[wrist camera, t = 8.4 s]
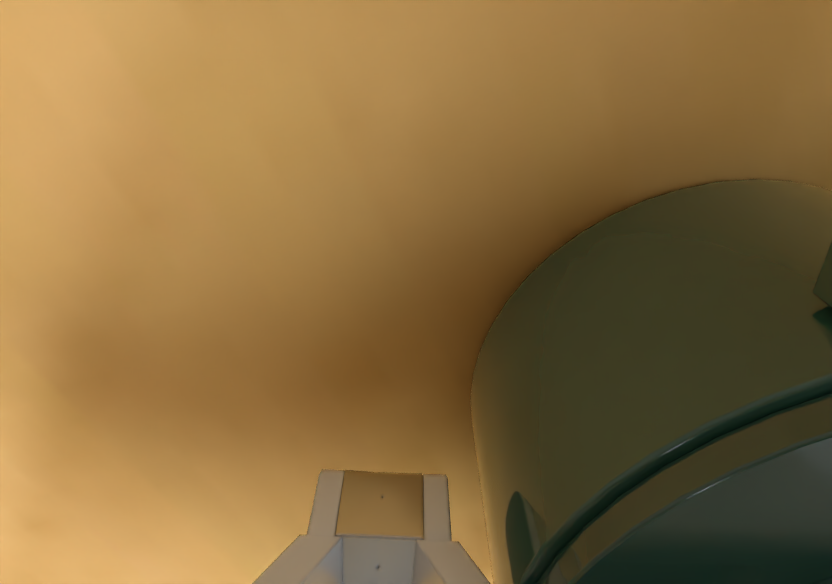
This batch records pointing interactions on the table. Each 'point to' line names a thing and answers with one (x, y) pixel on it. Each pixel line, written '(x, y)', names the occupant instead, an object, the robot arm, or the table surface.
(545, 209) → the table surface
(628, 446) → the pot
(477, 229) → the table surface
